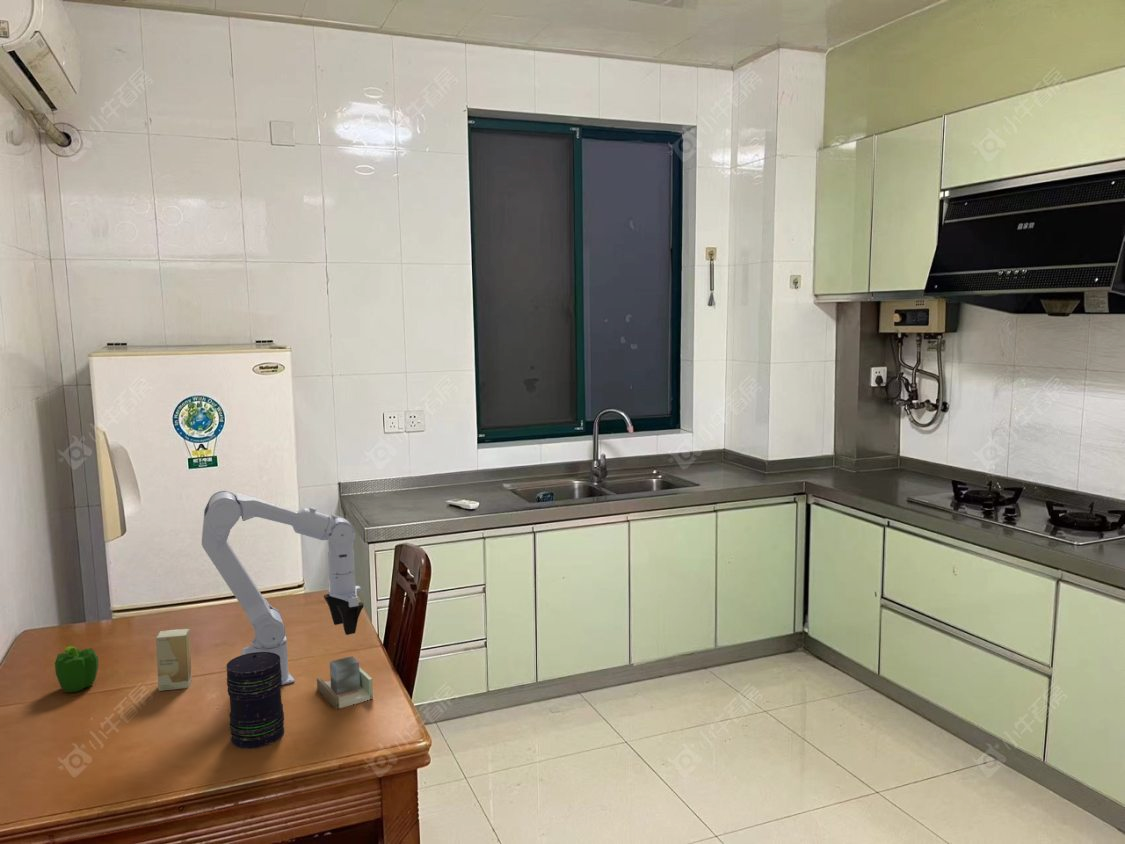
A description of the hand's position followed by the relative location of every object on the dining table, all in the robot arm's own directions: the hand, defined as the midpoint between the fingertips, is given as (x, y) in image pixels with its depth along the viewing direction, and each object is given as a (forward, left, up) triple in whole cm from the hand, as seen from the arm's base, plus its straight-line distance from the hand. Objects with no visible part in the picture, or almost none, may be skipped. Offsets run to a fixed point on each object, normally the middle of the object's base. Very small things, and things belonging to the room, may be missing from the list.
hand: (344, 628), depth 188 cm
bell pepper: (-52, +25, -10) cm, 58 cm away
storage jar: (-25, -21, -10) cm, 34 cm away
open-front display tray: (-5, -13, -9) cm, 17 cm away
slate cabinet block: (-5, -13, -8) cm, 16 cm away
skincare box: (-34, +13, -10) cm, 38 cm away
